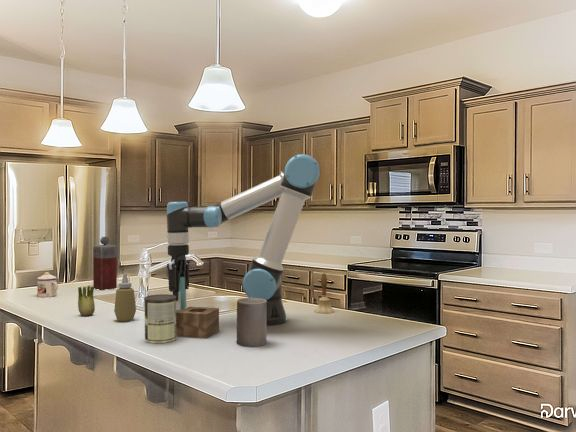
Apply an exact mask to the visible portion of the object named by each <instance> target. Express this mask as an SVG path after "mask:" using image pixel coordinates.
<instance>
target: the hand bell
mask: <svg viewBox="0 0 576 432" xmlns="http://www.w3.org/2000/svg"><path fill="white" fill-rule="evenodd" d="M320 284H321V289H322V290H321V295H322V296H321V297H320V298H318V299H319V300H318V304H317V307H316V308H315V309H314V313H317V314H332V313H334V312H335V310H334V309H333V307H332V305H331V301H330V300H331V299H330V298H329V297H328V296H327V286H328V279H327V274H326V273H322V275H321V278H320Z"/></svg>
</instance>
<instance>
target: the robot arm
mask: <svg viewBox="0 0 576 432" xmlns="http://www.w3.org/2000/svg"><path fill="white" fill-rule="evenodd" d="M284 168H285V169H283V170H281V171H280V174H278V175H277V176H275V177H272V178H269V179H268V180H266V181H264V182H261V183H259V184H258V185H255V186H253V187H251V188H249V189H246V190H245V191H242V192H240V193H238V194H236V195H234V196H231V197H229V198H226V199H225V200H222V201H221V202H218V203H216V204H213V205H208V206H207V205H206V206H189V204H188V202H187V201H169V202H168V203H167V205H166V215H165V217H166V227H167V228H166V229H167V233H166V234H167V235H166V237H167V244H168V245H167V255H168V256H171V258H170V263H167V265H166V267H167V275H168V291H169V292H170V293H172V295H175V296H176V310H181V297H180V292H179V283H180V277H185V309H186V308H188V305H187V303H188V302H187V290H189V288H190V262H191V261H190V260H189V259H187V258H186V256H188V255H189V254H190V250H189V249H190V246H189V243H190V238H189V236H190V235H189V228H210V229H211V228H218V227H220V226H221V225H222V224H223V223H225V222H228V221H229V220H231V219H234V218H236V217H238V216H241V215H242V214H245V213H246V212H250V211H251V210H254V209H256V208H257V207H260V206H263V205H264V204H267V203H269V202H271V201H273V200H275V199H278V198H279V197H280V198H279V200H278V203H277V206H276V208H275V211H274V214H273V216H272V220H271V221H270V224H269V227H268V230H267V232H266V234H265V237H264V241H263V244H262V245H261V248H260V251H259V254H258V255H256V256H254V257H253V258H252V260H251V263H250V266H249V269H248V271H247V272H246V274H245V275H244V277H243V279H242V289H243V292H244V293H245V295H246V296H247V298H251V296H252V298H261V299H265V300H266V301H267V317H266V326H268V325H269V326H270V325H271V326H273V325H281V324H284V323H285V322H287V314H286V310H285V307H284V305H283V301H282V298H283V297H282V295H283V292H282V291H283V289H282V283H283V281H282V275H283V272H284V267H283V266H284V265H283V264H282V263H283V260H284V257H285V255H286V252H287V250H288V247H289V244H290V241H291V239H292V236H293V233H294V230H295V229H296V225H297V223H298V221H299V218H300V215H301V213H302V210H303V207H304V204H305V202H306V201H307V200H309V199H311V197H312V195H313V193H314V190H315V188H316V185H317V184H318V182H319V180H320V178H321V168H320V164H319V162H318V161H317V159H315V158H314V156H311V155H308V154H303V153H300V154H296V155H294V156H292V157H291V158H290V159H288V160H287V163H286V165H285V166H284Z"/></svg>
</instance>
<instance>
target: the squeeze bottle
mask: <svg viewBox="0 0 576 432" xmlns="http://www.w3.org/2000/svg"><path fill="white" fill-rule="evenodd" d="M135 297H136V296H135V289H134V288H133V287H132V282H130V281H129V278H128V274H127V273H123V275H122V280H121V282H118V288H117V289H115V300H114V301H115V302H114V310H113V311H114V315H115V317H116V320H117V322H130V321H134V318H135V314H136V312H137V307H136V298H135Z"/></svg>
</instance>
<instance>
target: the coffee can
mask: <svg viewBox="0 0 576 432" xmlns="http://www.w3.org/2000/svg"><path fill="white" fill-rule="evenodd" d="M143 300H144V342H146V343H148V344H149V343H150V344H165V343H171V342H173V341H175V340H177V336H176V296H175V295H173V294H166V293H165V294H162V293H161V294H150V295H146V296H144V298H143Z"/></svg>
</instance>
